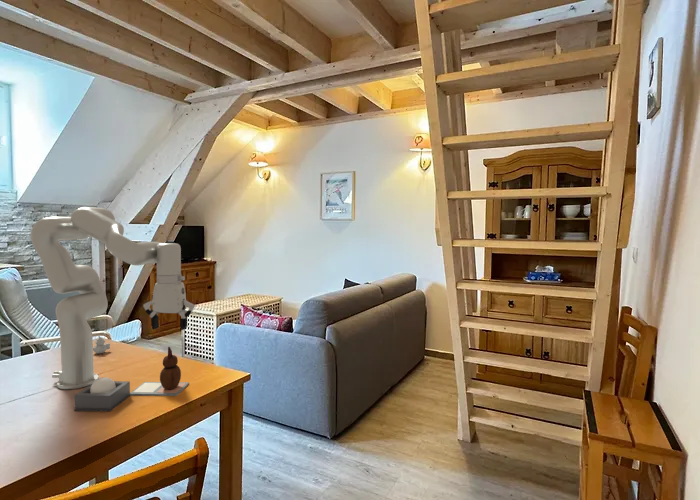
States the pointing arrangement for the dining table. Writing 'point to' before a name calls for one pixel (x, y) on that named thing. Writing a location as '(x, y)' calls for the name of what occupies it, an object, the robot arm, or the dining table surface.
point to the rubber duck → (101, 346)
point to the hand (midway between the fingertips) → (169, 328)
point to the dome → (103, 385)
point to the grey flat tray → (158, 389)
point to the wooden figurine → (170, 371)
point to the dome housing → (102, 398)
